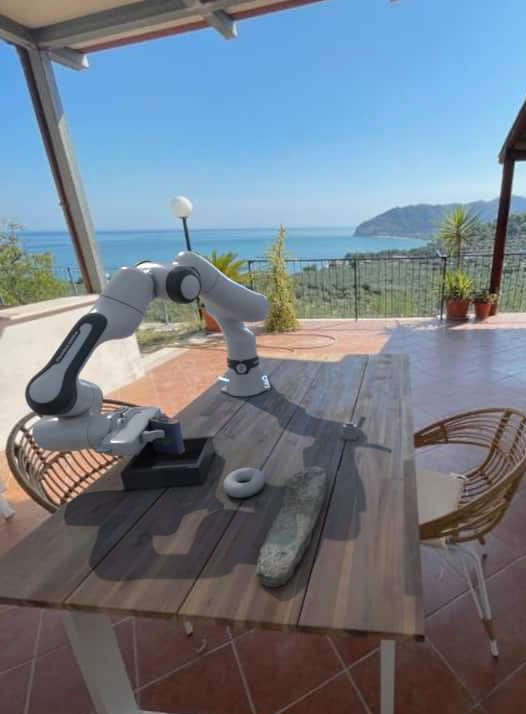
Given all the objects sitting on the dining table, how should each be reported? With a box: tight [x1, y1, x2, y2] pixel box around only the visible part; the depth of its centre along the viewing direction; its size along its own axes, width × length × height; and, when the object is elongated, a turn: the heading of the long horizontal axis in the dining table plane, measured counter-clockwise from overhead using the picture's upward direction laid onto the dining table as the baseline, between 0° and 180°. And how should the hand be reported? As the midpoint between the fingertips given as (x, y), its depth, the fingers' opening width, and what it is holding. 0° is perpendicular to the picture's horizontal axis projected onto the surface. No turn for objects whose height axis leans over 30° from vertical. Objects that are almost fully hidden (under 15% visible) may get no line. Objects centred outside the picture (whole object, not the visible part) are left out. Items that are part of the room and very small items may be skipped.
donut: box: [222, 467, 266, 499], centre depth 95 cm, size 10×4×10 cm
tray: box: [119, 435, 216, 491], centre depth 102 cm, size 16×18×5 cm
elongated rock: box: [255, 465, 328, 588], centre depth 84 cm, size 35×5×10 cm
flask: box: [148, 412, 185, 455], centre depth 99 cm, size 9×3×11 cm, turn 71°
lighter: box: [342, 413, 367, 441], centre depth 118 cm, size 7×2×8 cm, turn 87°
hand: (168, 427), depth 99 cm, fingers closed on flask, 4 cm apart
